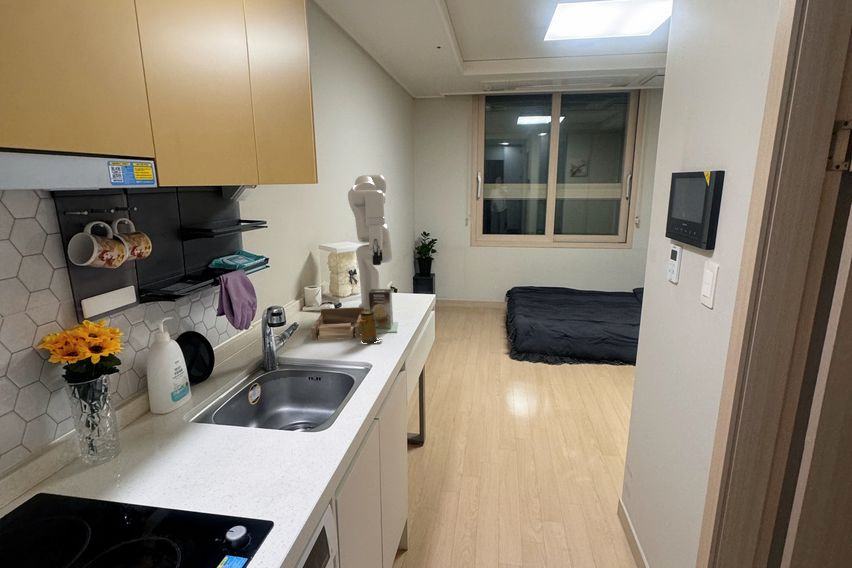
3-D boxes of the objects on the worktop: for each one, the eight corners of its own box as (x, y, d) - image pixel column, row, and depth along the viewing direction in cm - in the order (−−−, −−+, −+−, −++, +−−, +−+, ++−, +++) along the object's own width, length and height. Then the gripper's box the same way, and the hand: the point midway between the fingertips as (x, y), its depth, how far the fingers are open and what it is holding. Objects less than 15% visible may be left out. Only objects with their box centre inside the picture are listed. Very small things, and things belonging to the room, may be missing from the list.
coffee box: (370, 329, 186) (367, 292, 183) (373, 324, 192) (370, 288, 189) (391, 329, 185) (389, 292, 182) (393, 324, 192) (391, 288, 188)
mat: (368, 324, 195) (368, 323, 195) (398, 322, 195) (397, 321, 195) (365, 333, 182) (365, 332, 182) (396, 332, 182) (396, 331, 182)
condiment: (362, 338, 177) (359, 309, 174) (383, 337, 177) (381, 309, 174) (359, 344, 170) (356, 315, 167) (381, 344, 170) (379, 314, 167)
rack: (322, 323, 198) (321, 308, 196) (365, 321, 198) (363, 307, 197) (311, 340, 177) (310, 323, 175) (359, 338, 177) (358, 321, 176)
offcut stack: (320, 336, 182) (319, 324, 180) (354, 335, 182) (353, 323, 181) (318, 340, 177) (317, 328, 176) (353, 338, 178) (352, 326, 177)
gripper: (368, 220, 187) (370, 259, 191) (363, 223, 171) (366, 267, 174) (385, 219, 188) (388, 259, 191) (383, 223, 171) (385, 266, 175)
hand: (377, 262), depth 183 cm, fingers open, 9 cm apart
